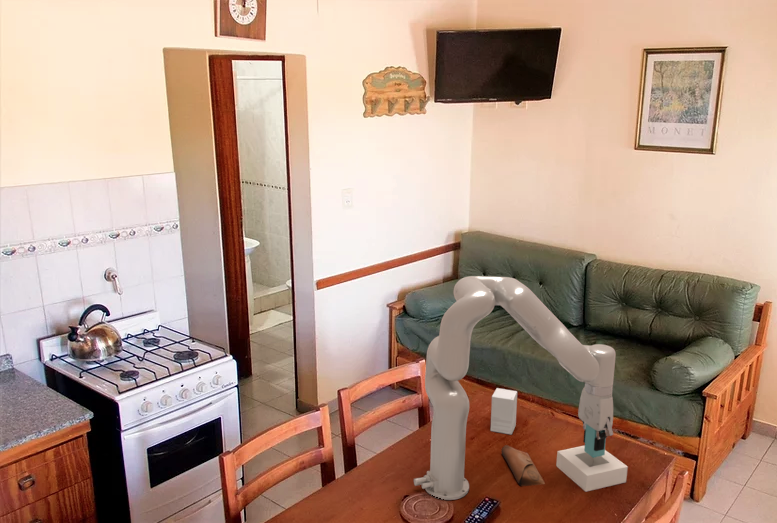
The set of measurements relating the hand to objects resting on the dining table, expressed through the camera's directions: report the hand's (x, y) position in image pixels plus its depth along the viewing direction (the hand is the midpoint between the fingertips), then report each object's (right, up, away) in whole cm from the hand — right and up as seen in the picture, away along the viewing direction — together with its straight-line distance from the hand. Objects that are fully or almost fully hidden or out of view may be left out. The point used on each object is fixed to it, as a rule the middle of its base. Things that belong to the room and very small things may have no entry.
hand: (593, 445), depth 186 cm
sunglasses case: (-20, -9, +5) cm, 22 cm away
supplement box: (-21, -3, +29) cm, 36 cm away
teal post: (+1, -2, +1) cm, 3 cm away
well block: (0, -9, +2) cm, 9 cm away
